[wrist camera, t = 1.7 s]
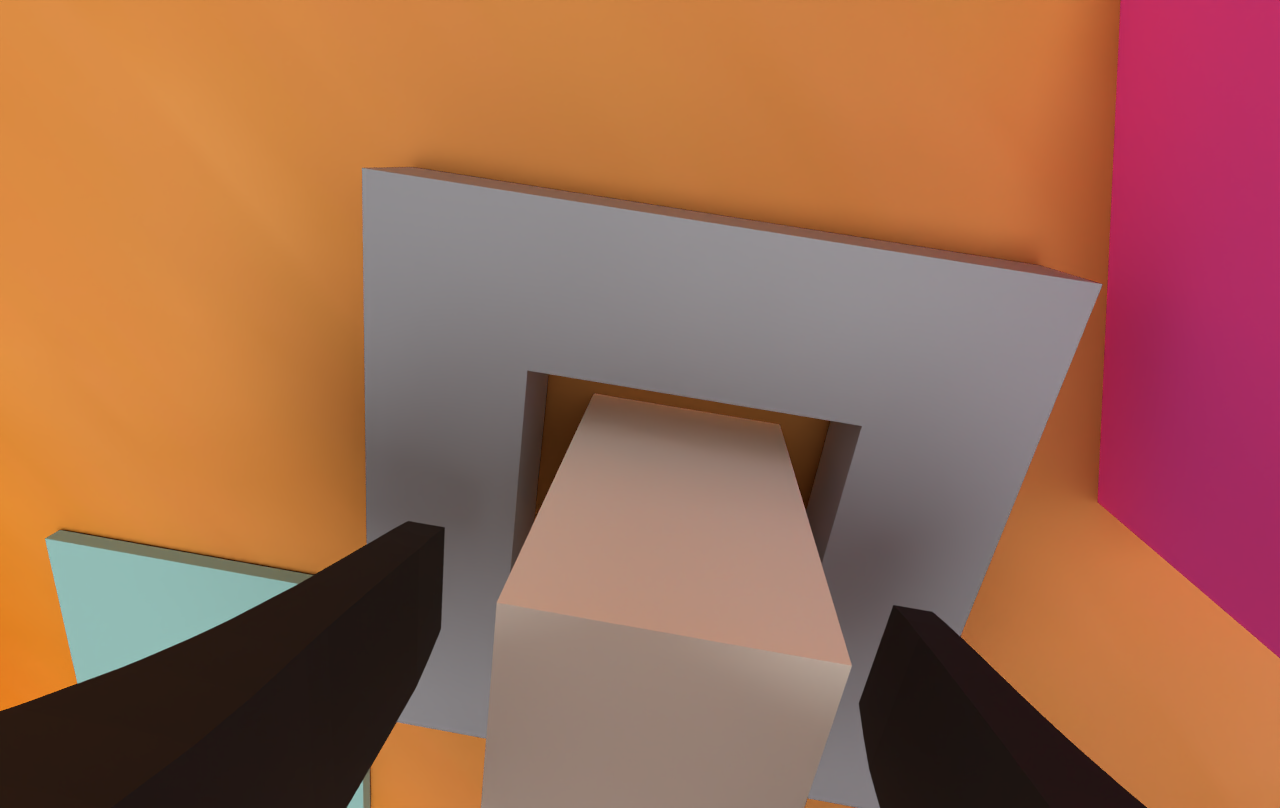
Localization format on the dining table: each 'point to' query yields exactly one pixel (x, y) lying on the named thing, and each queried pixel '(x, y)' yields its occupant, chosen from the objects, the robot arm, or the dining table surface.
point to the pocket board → (698, 393)
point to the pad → (151, 601)
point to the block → (664, 624)
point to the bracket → (1197, 299)
